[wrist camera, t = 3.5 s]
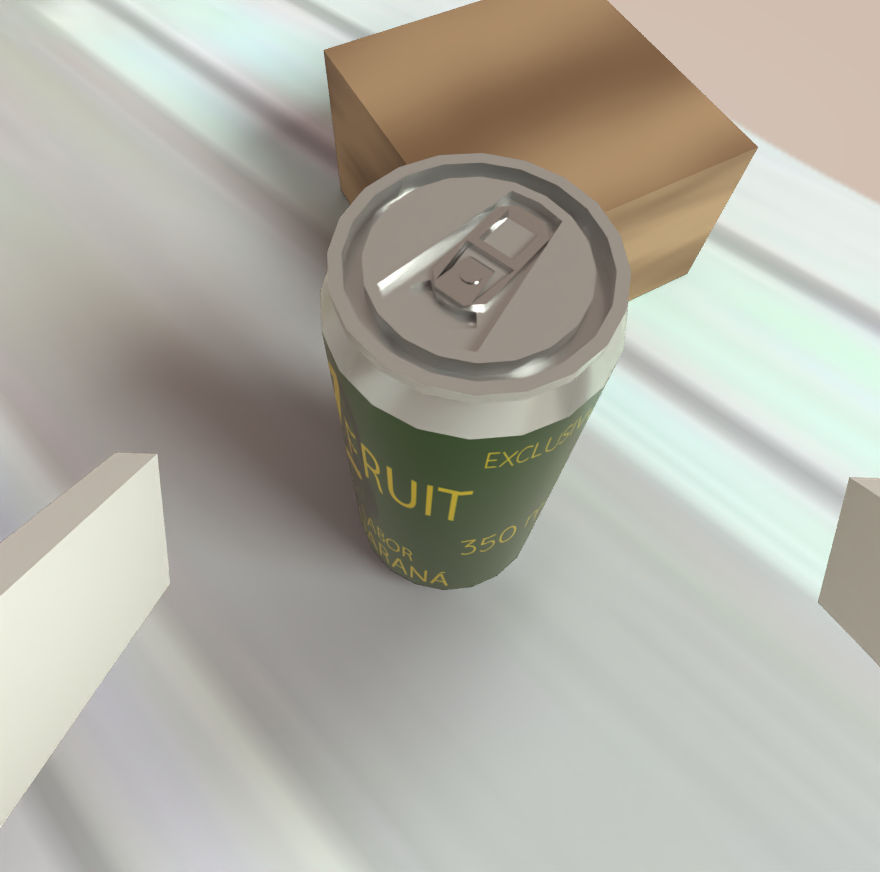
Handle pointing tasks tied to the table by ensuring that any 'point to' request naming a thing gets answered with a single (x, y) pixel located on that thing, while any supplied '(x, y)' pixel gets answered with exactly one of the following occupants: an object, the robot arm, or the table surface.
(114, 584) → the robot arm
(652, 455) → the table surface
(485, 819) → the table surface
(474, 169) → the guarana soda can
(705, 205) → the walnut block
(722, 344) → the table surface
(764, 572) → the table surface
